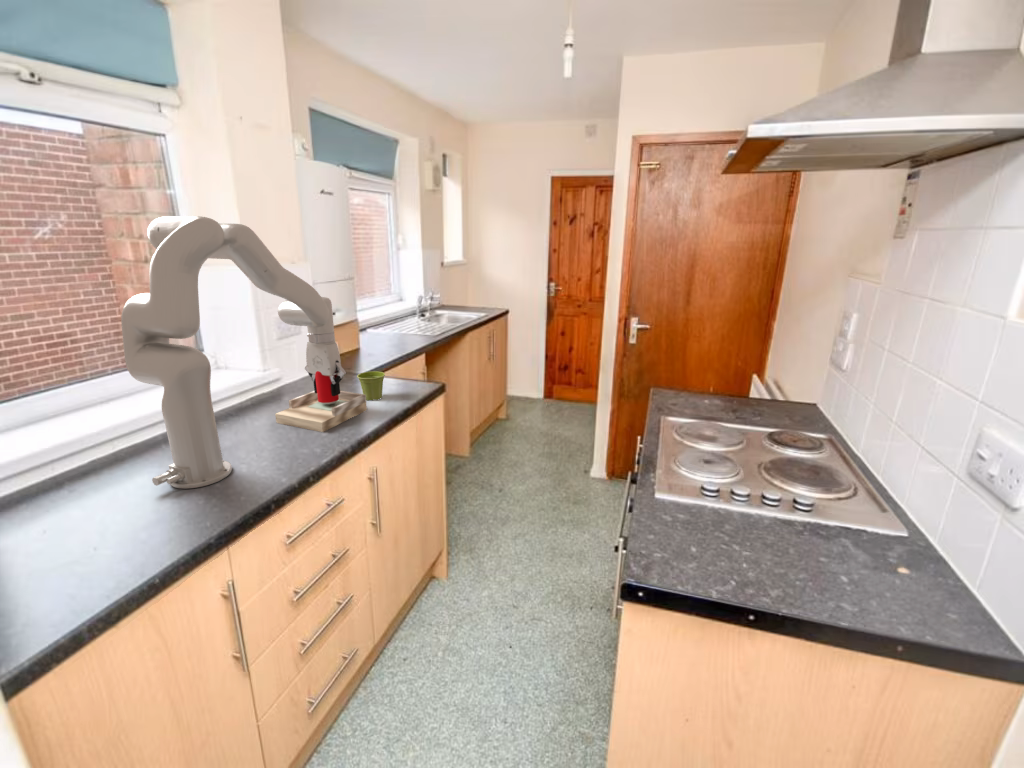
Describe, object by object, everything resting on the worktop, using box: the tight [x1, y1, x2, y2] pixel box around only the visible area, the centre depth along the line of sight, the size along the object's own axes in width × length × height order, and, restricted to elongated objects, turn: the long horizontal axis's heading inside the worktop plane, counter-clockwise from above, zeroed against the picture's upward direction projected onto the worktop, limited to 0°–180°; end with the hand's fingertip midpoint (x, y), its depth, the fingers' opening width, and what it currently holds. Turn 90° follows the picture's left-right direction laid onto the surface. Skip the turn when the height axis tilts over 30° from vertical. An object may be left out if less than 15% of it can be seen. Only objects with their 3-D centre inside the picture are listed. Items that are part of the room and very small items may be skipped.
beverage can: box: [315, 371, 339, 404], centre depth 150 cm, size 6×6×12 cm
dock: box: [274, 390, 368, 433], centre depth 150 cm, size 20×18×6 cm
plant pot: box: [356, 370, 386, 401], centre depth 167 cm, size 9×9×9 cm
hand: (327, 393), depth 151 cm, fingers closed on beverage can, 6 cm apart
